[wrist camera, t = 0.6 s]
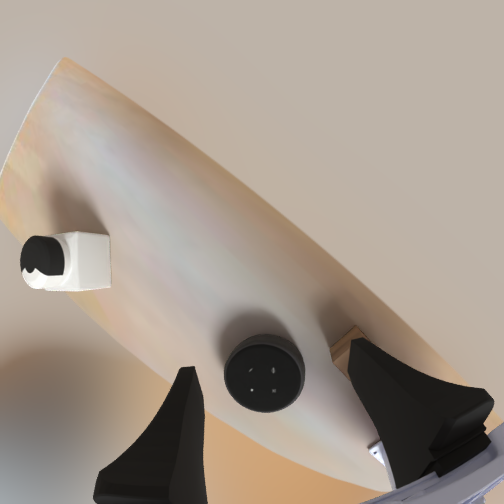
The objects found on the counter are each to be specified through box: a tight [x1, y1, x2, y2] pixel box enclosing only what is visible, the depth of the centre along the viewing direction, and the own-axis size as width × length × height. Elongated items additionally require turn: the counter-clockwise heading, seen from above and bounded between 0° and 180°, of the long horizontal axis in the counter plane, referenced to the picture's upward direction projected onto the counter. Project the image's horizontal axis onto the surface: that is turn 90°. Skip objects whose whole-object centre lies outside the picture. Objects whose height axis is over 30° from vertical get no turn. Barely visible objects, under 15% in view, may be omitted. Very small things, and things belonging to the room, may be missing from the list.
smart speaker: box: [224, 334, 305, 413], centre depth 32 cm, size 9×9×4 cm
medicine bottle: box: [20, 231, 112, 291], centre depth 33 cm, size 7×7×12 cm
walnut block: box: [330, 326, 371, 381], centre depth 30 cm, size 4×4×5 cm
